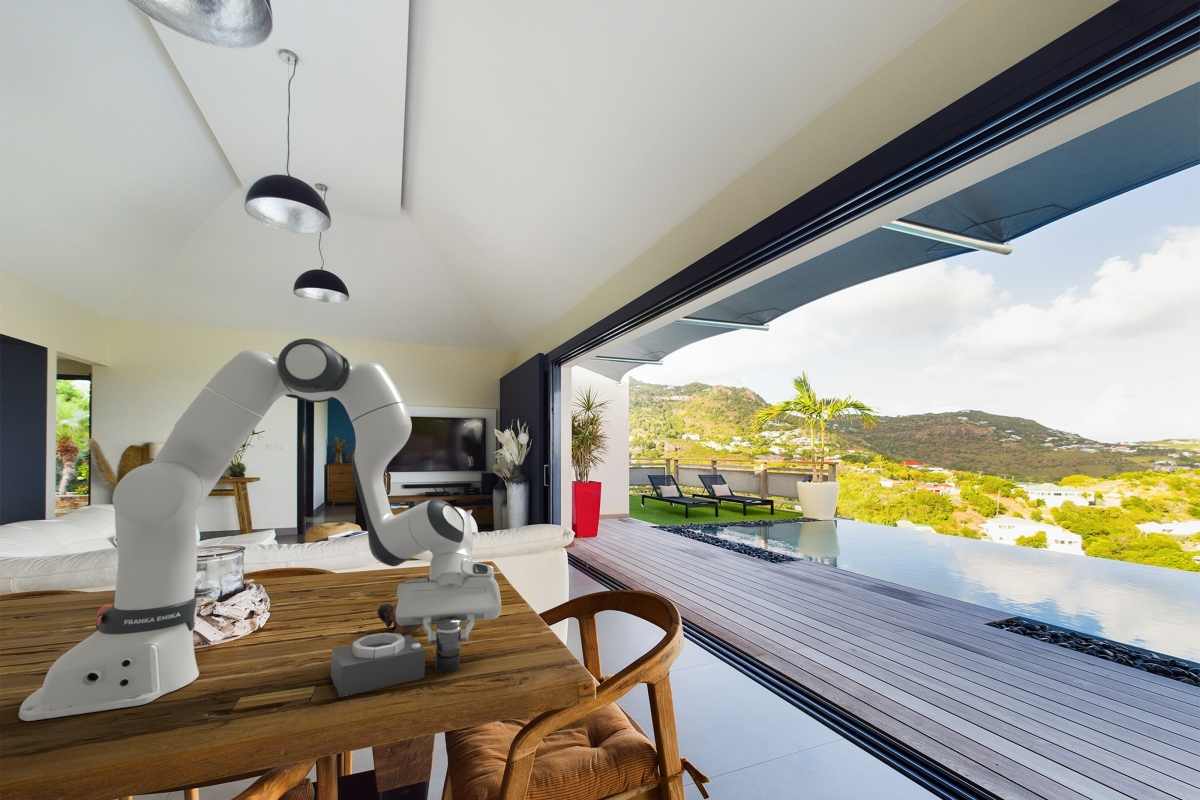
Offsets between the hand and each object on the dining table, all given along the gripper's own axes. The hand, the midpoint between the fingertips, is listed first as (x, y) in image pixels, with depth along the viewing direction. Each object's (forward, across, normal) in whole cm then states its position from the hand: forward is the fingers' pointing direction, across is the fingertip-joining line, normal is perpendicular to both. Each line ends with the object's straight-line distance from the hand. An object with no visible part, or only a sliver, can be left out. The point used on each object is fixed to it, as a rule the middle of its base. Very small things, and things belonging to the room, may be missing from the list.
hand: (448, 641), depth 102 cm
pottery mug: (-14, -10, +22) cm, 28 cm away
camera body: (+4, -12, +3) cm, 13 cm away
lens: (+3, 0, +4) cm, 5 cm away
